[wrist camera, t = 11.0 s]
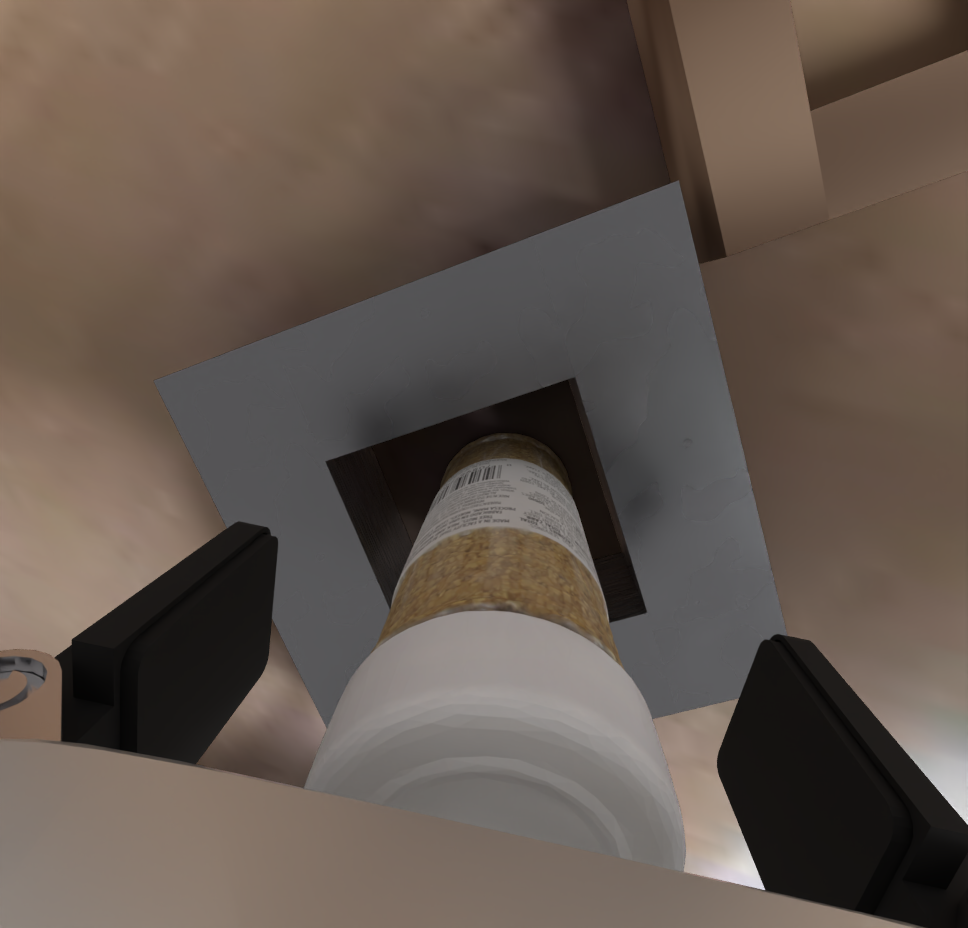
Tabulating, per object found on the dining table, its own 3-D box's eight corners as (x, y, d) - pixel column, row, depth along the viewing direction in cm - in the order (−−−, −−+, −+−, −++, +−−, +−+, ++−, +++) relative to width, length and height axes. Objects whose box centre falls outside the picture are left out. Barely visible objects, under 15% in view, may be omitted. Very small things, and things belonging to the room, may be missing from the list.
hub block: (743, 610, 20) (798, 683, 16) (386, 704, 22) (357, 789, 18) (640, 210, 16) (678, 180, 12) (229, 365, 18) (153, 380, 14)
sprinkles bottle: (464, 566, 20) (365, 1046, 7) (423, 449, 19) (215, 757, 6) (588, 534, 19) (733, 994, 6) (553, 411, 18) (644, 661, 5)
